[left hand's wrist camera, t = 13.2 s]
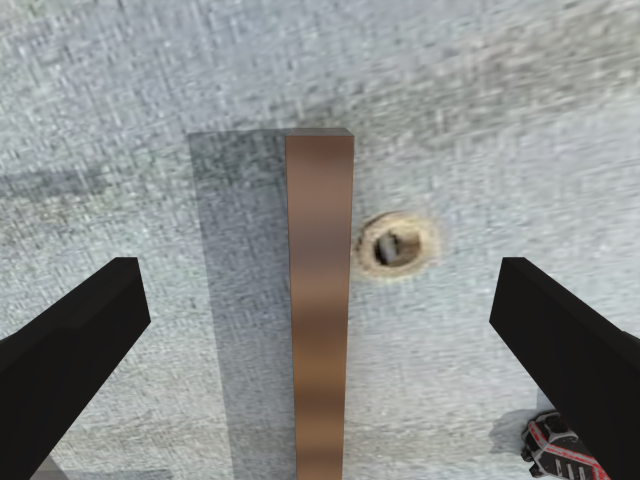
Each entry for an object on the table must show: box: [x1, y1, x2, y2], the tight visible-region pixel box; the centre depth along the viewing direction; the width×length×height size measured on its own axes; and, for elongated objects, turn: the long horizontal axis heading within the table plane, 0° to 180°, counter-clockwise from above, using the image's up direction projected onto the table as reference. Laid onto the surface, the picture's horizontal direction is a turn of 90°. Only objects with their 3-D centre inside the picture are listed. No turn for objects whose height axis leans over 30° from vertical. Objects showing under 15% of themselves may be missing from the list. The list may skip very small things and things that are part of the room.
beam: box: [285, 128, 354, 480], centre depth 40 cm, size 54×5×9 cm, turn 0°
